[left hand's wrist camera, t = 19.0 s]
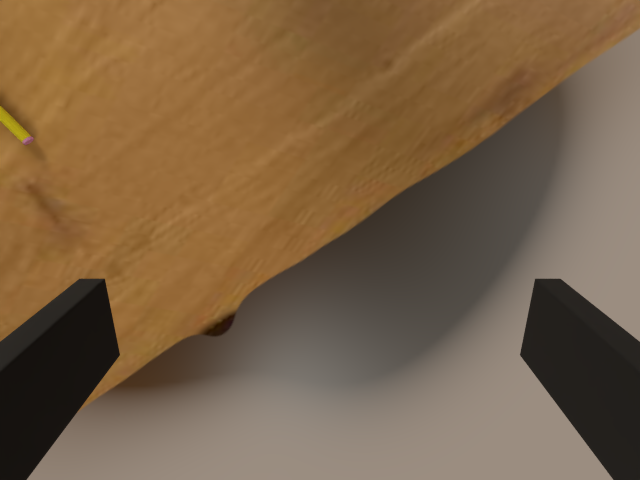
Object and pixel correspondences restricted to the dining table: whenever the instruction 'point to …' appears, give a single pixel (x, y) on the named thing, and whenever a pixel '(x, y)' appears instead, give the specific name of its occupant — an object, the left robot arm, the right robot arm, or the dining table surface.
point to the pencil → (15, 127)
